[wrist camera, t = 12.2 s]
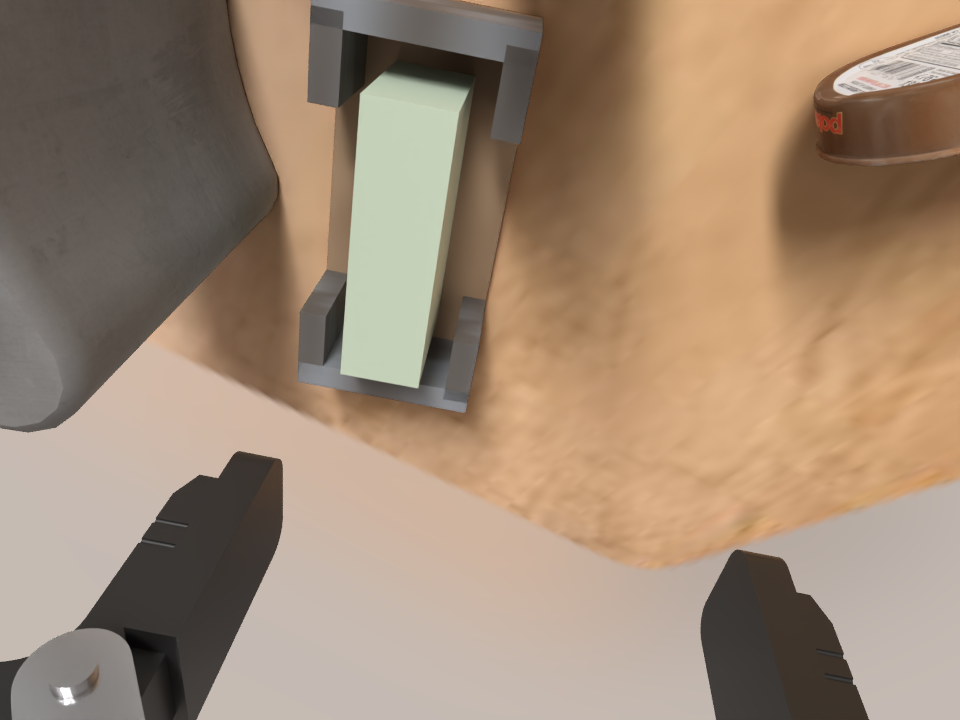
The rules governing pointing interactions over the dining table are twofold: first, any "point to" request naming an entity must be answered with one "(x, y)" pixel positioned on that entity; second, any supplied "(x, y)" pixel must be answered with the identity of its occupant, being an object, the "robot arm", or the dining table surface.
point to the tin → (893, 104)
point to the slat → (402, 218)
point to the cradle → (483, 179)
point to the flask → (113, 185)
